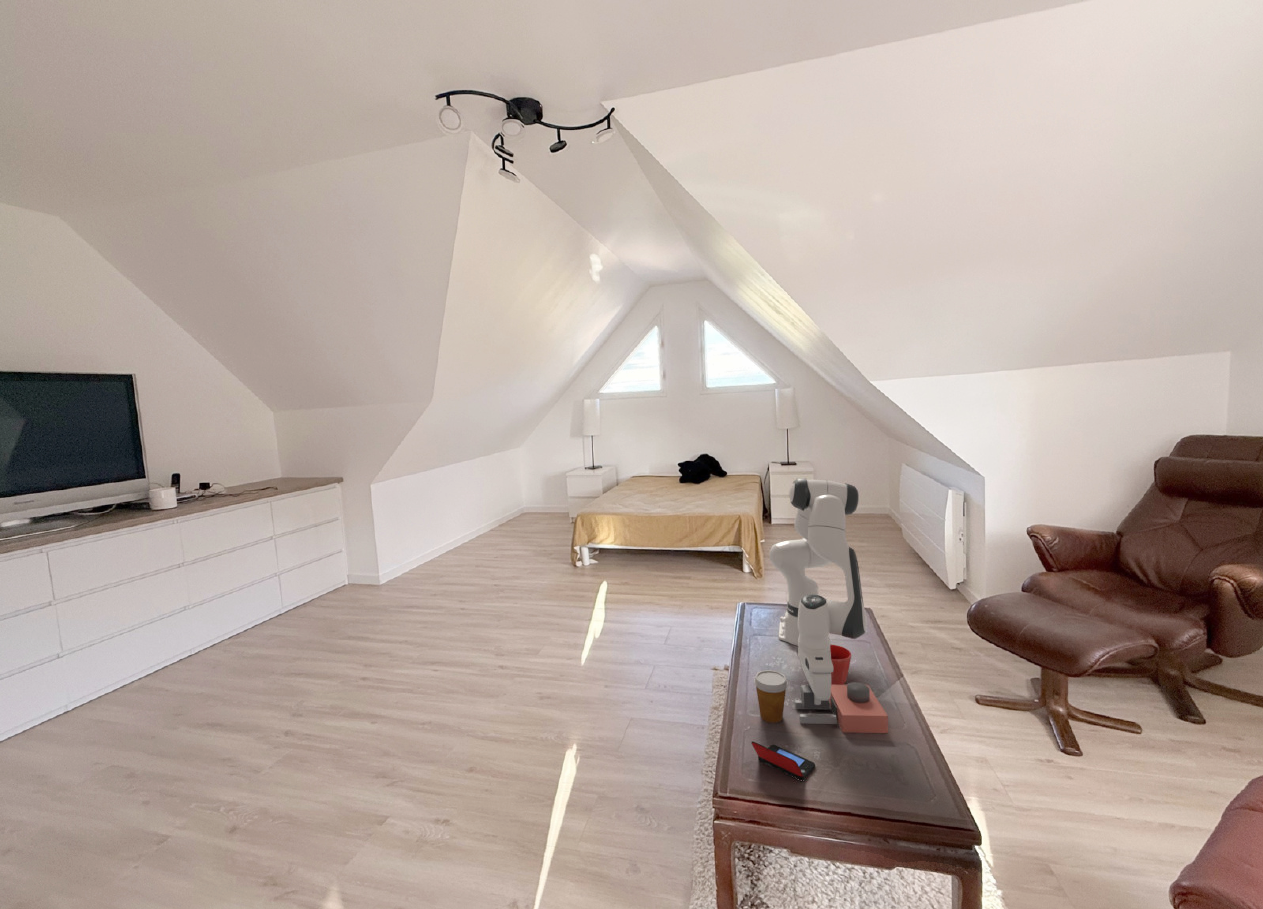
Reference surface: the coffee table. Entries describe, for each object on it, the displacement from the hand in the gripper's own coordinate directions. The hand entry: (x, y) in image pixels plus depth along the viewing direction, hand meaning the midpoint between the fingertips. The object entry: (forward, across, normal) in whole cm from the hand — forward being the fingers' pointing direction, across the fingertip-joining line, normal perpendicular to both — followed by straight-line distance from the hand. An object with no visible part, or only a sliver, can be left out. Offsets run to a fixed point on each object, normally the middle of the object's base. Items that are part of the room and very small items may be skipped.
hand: (814, 698), depth 156 cm
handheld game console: (+6, +22, -13) cm, 27 cm away
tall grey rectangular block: (+2, 0, 0) cm, 2 cm away
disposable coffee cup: (+6, +1, -13) cm, 14 cm away
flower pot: (+6, -20, +11) cm, 23 cm away
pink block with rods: (+5, 0, +6) cm, 8 cm away
